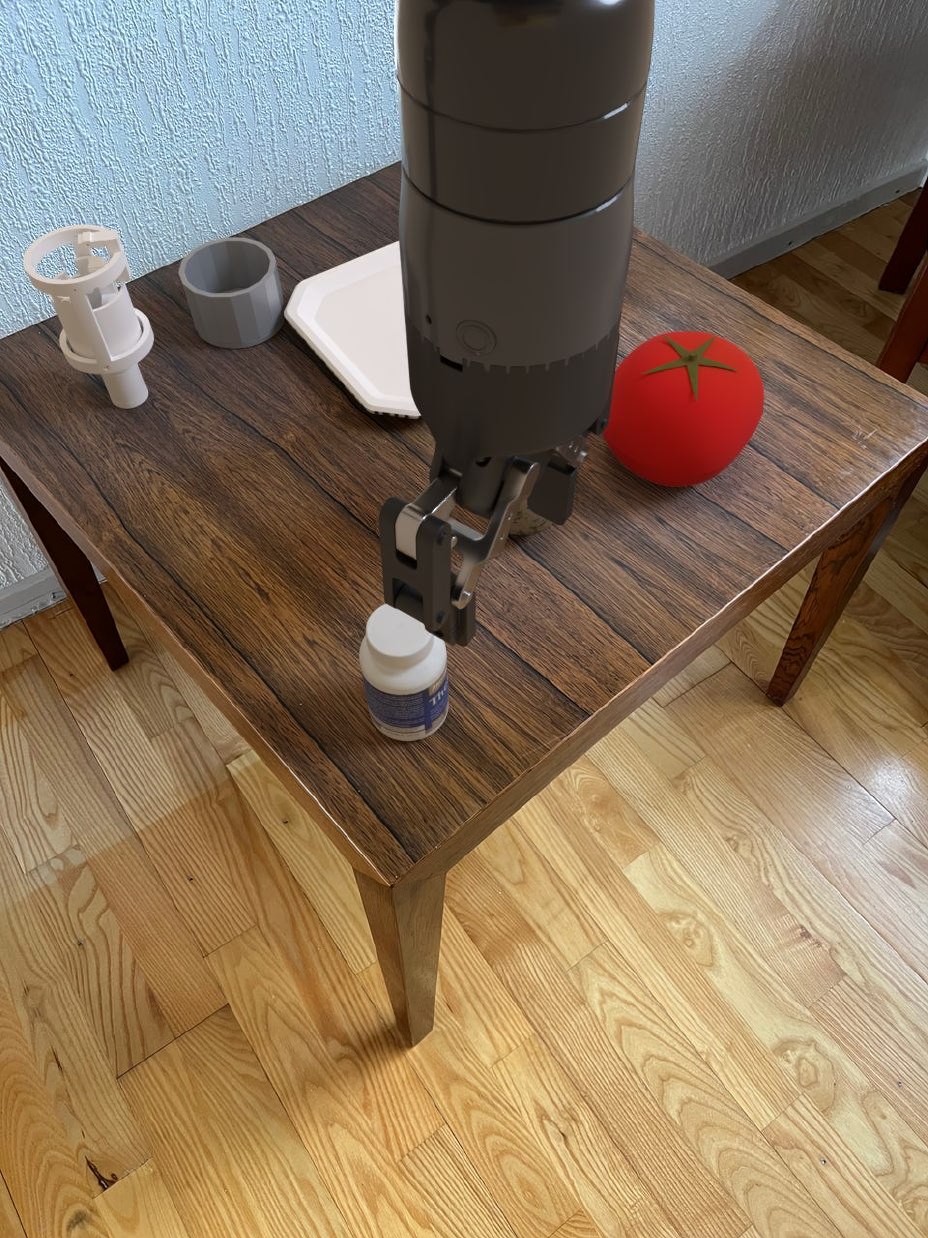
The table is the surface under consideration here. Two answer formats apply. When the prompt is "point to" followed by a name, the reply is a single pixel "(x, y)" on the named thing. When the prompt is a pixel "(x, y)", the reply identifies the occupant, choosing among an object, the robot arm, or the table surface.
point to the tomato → (683, 407)
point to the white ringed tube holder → (96, 310)
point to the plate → (359, 329)
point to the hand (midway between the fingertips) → (501, 571)
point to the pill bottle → (403, 675)
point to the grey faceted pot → (233, 292)
